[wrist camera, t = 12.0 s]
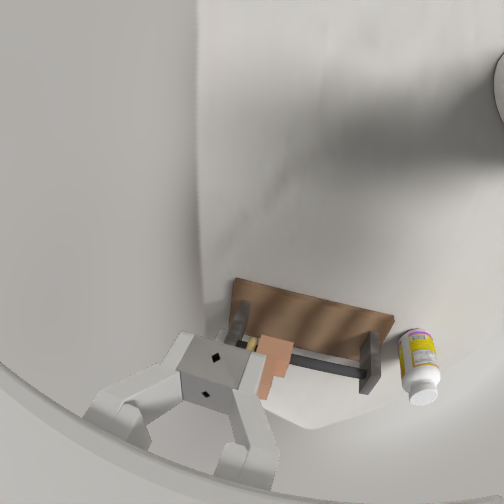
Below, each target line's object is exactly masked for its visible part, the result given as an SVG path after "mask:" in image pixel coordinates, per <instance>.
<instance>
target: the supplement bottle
mask: <svg viewBox="0 0 504 504" xmlns="http://www.w3.org/2000/svg"><path fill="white" fill-rule="evenodd" d="M398 351H399V360H400V368H401V378H402V386H403V389H404V390H405V391H406V392H408V393H409V401H410V403H411V404H412V405H415V406H423V405H427V404H429V403H431V402H433V401H434V400H435V399H436V398H437V395H438V392H437V387H436V386H437V384H438V383H439V381H440V370H439V365H438V361H437V356H436V352H435V347H434V343H433V339H432V336H431V334H430V333H429V332H428V331H426V330H424V329H414V330H411V331H408V332H407V333H405V334H404V335H403V336H402V337H401V338H400V340H399V342H398Z"/></svg>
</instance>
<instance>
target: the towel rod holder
mask: <svg viewBox="0 0 504 504" xmlns="http://www.w3.org/2000/svg"><path fill="white" fill-rule="evenodd" d="M394 322H395V321H394V316H393V315H389V314H384V313H380V312H375V311H371V310H366V309H362V308H358V307H353V306H349V305H345V304H341V303H336V302H332V301H328V300H324V299H320V298H315V297H311V296H307V295H303V294H299V293H295V292H291V291H287V290H283V289H279V288H275V287H271V286H267V285H263V284H259V283H255V282H251V281H247V280H243V279H239V278H236V279H235V281H234V285H233V293H232V302H231V311H230V320H229V329H228V330H229V331H228V333H227V335H226V338H225V340H224V344H228V345H231V346H235V347H236V345H237V342H238V340H242V337H243V335H244V334H246V335H249V336H253V337H257V338H261V334H262V335H266V336H269V337H273V338H277V339H281V340H285V341H289V342H294V344H293V347H296V348H301V349H305V350H309V351H314V352H318V353H322V354H327V355H332V356H336V357H341V358H346V359H351V360H356V361H360V369H366V370H367V375H366V378H365V379H359V393H360V394H366V395H368V394H369V393H370V392H371V390H372V389H373V388H374V386H375V385H376V383H377V382H378V381H379V379H380V378H381V363H380V346H381V345H382V343H383V341H384V340H385V338H386V336H387V334H388V333H389V331H390V329H391V327H392V326H393V324H394Z"/></svg>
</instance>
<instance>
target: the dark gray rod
mask: <svg viewBox="0 0 504 504" xmlns="http://www.w3.org/2000/svg"><path fill="white" fill-rule="evenodd" d="M227 333H228V331H227V330H223V329H220V330H219V332H218V334H217V336H216V338H215V341H216V342H219V343H222V344H224V340H225V338H226V335H227ZM257 343H258V338H254V337H251V336H250V338H249V341H248V342H244V341H241V340H238V342H237V345H236V347H239V348H243V349H246V350H250V351H253V352H256V350H257V347H258V345H257ZM289 364H292V365H296V366H301V367H305V368H309V369H314V370H318V371H323V372H328V373H333V374H338V375H343V376H348V377H353V378H358V379H365V378H366V375H367V370H366V369H360V368H355V367H350V366H345V365H340V364H335V363H331V362H326V361H321V360H317V359H312V358H308V357H304V356H299V355H295V354H291V358H290V362H289Z"/></svg>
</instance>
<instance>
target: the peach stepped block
mask: <svg viewBox="0 0 504 504" xmlns="http://www.w3.org/2000/svg"><path fill="white" fill-rule="evenodd" d="M293 344H294V342H289V341H285V340H281V339H277V338H273V337H269V336H266V335H262V334H261V338H260V341H259V344H258V347H257V350H256V352H257V353H260V354H264V355H267V356H266V361H265V365H264V369H263V373H262V376H261V380H260V384H259V388H258V391H257V394H256V395H257V396H259V398H260V399H263V400H266V399H267V397H268V394H269V391H270V388H271V384H272V380H273V377H274V376H278V377H282V378H284V376H285V373H286V371H287V368H288V365H289V362H290V358H291V354H292V349H293Z"/></svg>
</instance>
